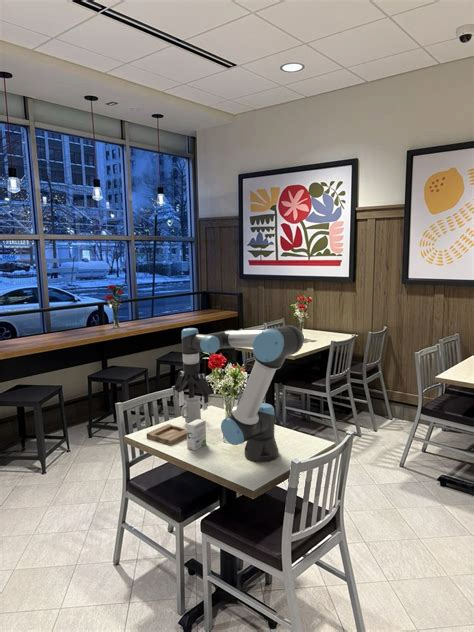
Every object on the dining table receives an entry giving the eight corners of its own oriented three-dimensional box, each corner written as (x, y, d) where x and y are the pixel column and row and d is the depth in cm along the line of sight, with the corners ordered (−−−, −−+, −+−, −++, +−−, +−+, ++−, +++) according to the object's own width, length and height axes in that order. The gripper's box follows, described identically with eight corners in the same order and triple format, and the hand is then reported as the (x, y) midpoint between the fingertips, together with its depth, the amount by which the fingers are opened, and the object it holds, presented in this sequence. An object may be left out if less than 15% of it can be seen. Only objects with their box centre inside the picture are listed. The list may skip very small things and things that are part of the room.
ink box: (198, 441, 217) (197, 418, 215) (206, 444, 214) (206, 420, 212) (186, 448, 210) (185, 423, 208) (194, 450, 207) (194, 425, 206)
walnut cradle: (191, 434, 226) (191, 430, 225) (170, 445, 214) (170, 440, 213) (168, 427, 235) (168, 423, 235) (146, 437, 223) (146, 433, 223)
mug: (193, 416, 252) (192, 396, 250) (204, 419, 246) (203, 399, 245) (176, 422, 243) (176, 402, 241) (187, 425, 237) (187, 405, 236)
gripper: (218, 363, 204) (220, 409, 206) (175, 358, 217) (177, 401, 220) (208, 366, 197) (210, 413, 200) (164, 361, 211) (167, 405, 213)
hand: (193, 407), depth 210 cm, fingers open, 13 cm apart
